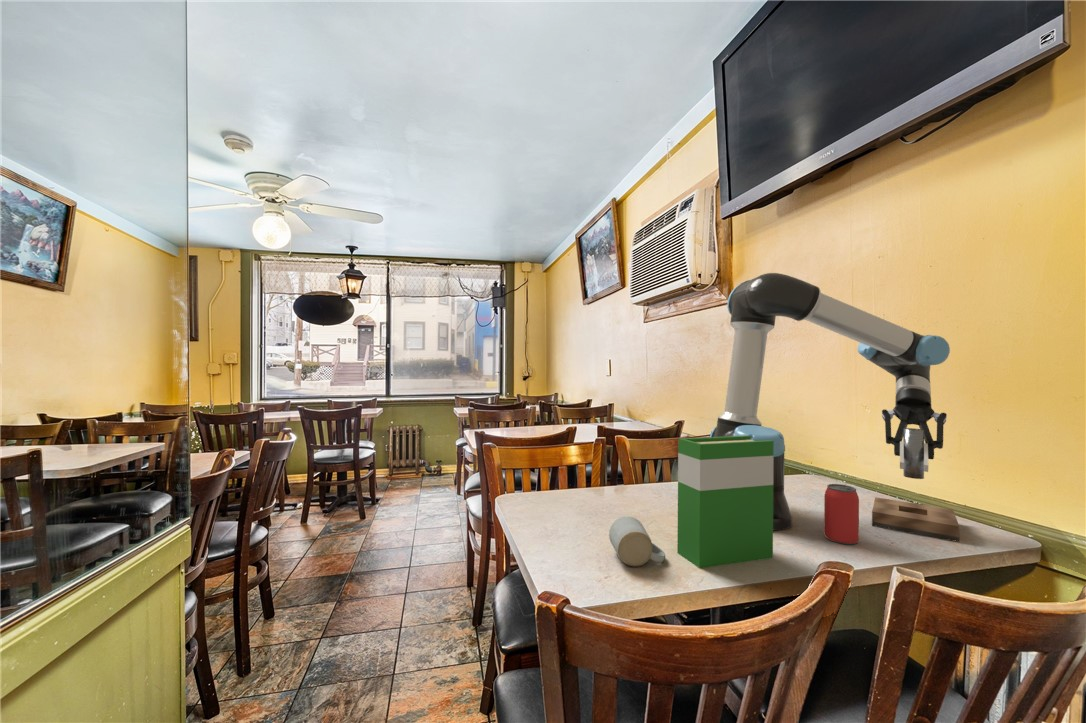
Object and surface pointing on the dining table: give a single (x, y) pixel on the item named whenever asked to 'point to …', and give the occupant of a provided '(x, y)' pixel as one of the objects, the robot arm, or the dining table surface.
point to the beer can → (841, 514)
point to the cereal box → (725, 500)
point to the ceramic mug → (633, 542)
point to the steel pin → (913, 453)
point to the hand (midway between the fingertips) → (913, 466)
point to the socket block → (915, 518)
